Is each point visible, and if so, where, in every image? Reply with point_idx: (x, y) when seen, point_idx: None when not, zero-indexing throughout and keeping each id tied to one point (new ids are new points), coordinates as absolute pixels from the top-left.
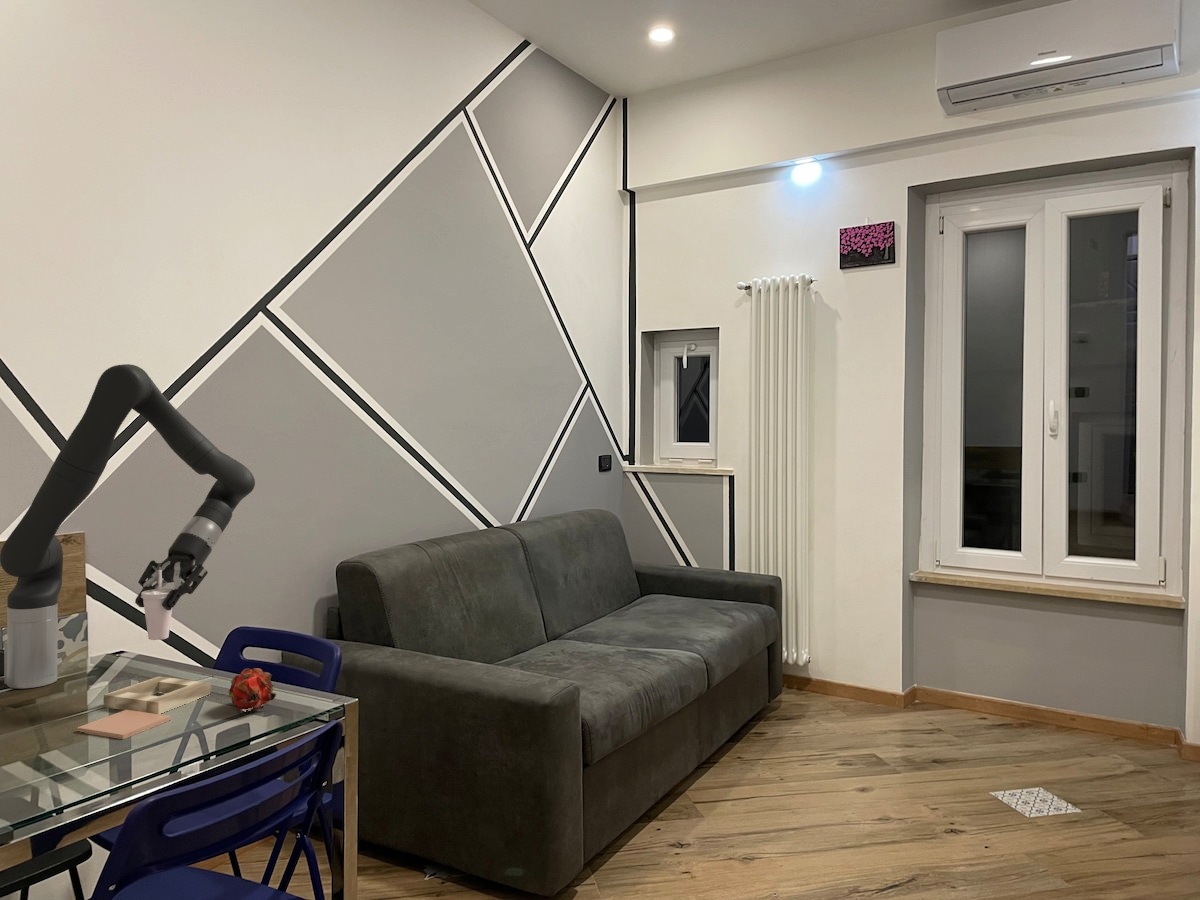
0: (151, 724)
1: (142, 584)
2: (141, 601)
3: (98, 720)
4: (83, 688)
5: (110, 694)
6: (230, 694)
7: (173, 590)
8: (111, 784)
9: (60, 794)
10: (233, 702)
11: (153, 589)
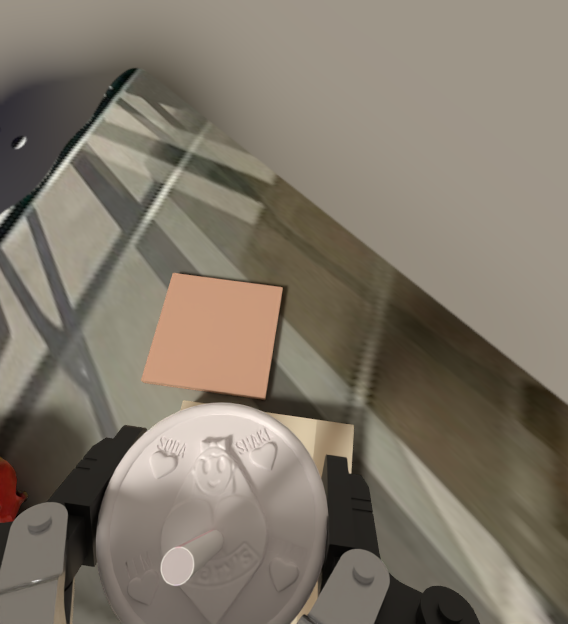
0: (156, 332)
1: (419, 601)
2: (323, 484)
3: (273, 327)
4: (532, 565)
5: (339, 430)
6: (1, 459)
7: (69, 501)
8: (88, 147)
9: (136, 119)
10: (22, 493)
11: (301, 586)
